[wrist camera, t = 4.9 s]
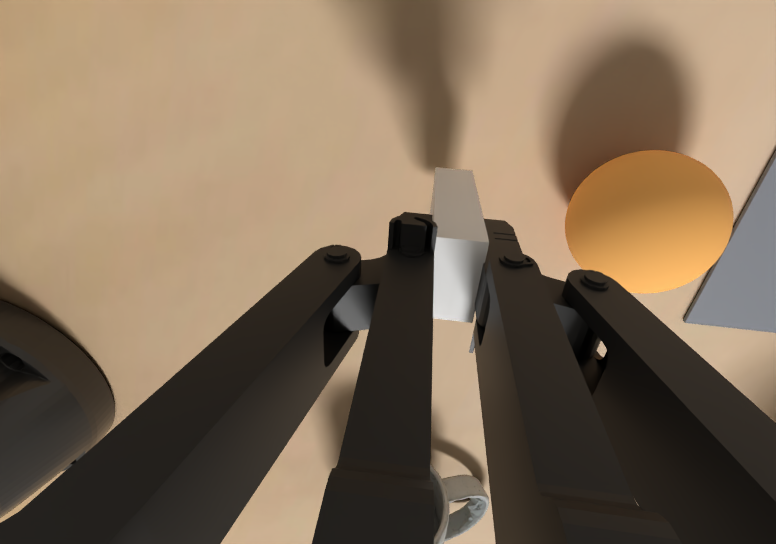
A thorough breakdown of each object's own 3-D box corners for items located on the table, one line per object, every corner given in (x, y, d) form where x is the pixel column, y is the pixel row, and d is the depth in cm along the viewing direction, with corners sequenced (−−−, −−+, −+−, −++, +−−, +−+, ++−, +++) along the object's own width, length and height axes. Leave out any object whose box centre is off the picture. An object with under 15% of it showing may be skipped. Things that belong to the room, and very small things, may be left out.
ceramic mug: (350, 507, 33) (331, 624, 27) (340, 443, 29) (314, 563, 23) (481, 516, 32) (494, 639, 26) (490, 450, 28) (508, 578, 22)
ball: (725, 304, 16) (611, 244, 20) (803, 168, 13) (651, 131, 18) (628, 337, 14) (524, 262, 19) (696, 185, 11) (554, 139, 16)
